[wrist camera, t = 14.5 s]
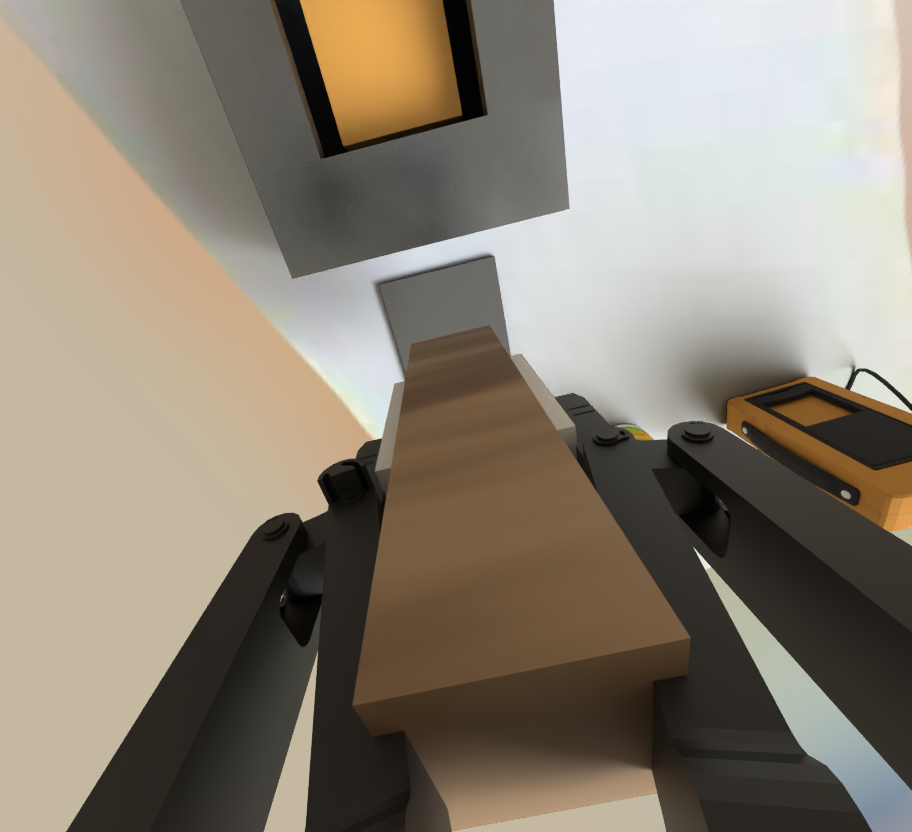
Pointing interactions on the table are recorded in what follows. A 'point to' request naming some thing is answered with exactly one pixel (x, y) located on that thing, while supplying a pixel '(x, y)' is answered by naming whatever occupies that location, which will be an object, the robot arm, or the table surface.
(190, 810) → the robot arm
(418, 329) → the rest mat
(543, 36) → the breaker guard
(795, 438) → the multimeter
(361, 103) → the button
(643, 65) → the table surface
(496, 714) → the brown rectangular block
